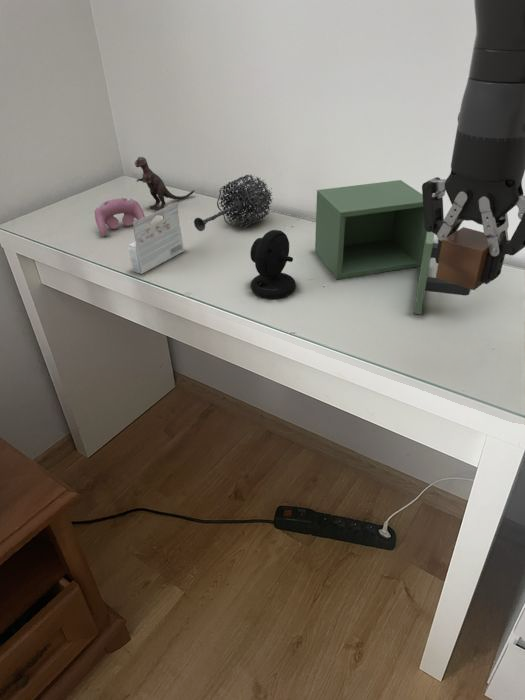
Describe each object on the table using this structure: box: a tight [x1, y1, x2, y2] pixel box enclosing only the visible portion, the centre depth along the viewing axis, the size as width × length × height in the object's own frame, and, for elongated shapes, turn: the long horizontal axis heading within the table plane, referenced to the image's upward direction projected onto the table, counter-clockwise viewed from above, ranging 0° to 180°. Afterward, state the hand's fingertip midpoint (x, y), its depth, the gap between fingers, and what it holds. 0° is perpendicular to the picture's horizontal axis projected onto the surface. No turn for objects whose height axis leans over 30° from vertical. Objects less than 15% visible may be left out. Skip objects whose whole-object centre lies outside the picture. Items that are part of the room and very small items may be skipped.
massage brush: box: [193, 174, 274, 232], centre depth 106 cm, size 9×22×9 cm, turn 144°
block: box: [435, 226, 489, 291], centre depth 63 cm, size 5×5×5 cm
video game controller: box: [94, 197, 146, 237], centre depth 109 cm, size 10×5×7 cm, turn 116°
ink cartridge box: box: [127, 201, 185, 275], centre depth 94 cm, size 2×11×10 cm, turn 145°
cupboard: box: [314, 179, 426, 280], centre depth 92 cm, size 11×16×12 cm
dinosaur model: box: [134, 156, 195, 212], centre depth 117 cm, size 4×12×15 cm
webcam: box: [250, 229, 297, 300], centre depth 85 cm, size 8×8×10 cm
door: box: [413, 231, 471, 315], centre depth 81 cm, size 7×16×12 cm, turn 163°
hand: (465, 273), depth 64 cm, fingers closed on block, 5 cm apart
